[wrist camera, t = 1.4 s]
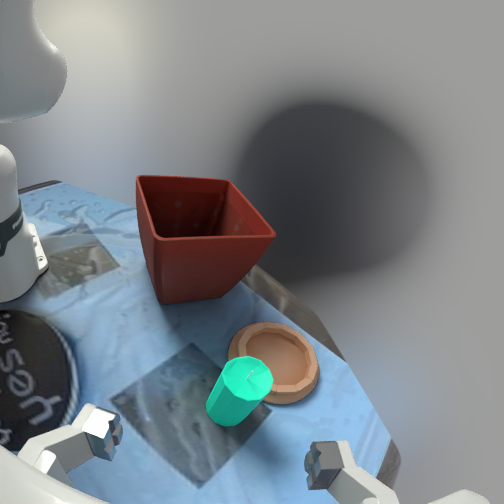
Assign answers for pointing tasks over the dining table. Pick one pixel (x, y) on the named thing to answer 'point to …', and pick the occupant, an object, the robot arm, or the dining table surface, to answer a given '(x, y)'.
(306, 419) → the dining table surface
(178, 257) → the plant pot
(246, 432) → the dining table surface
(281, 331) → the saucer
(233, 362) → the candle
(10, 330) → the dining table surface
